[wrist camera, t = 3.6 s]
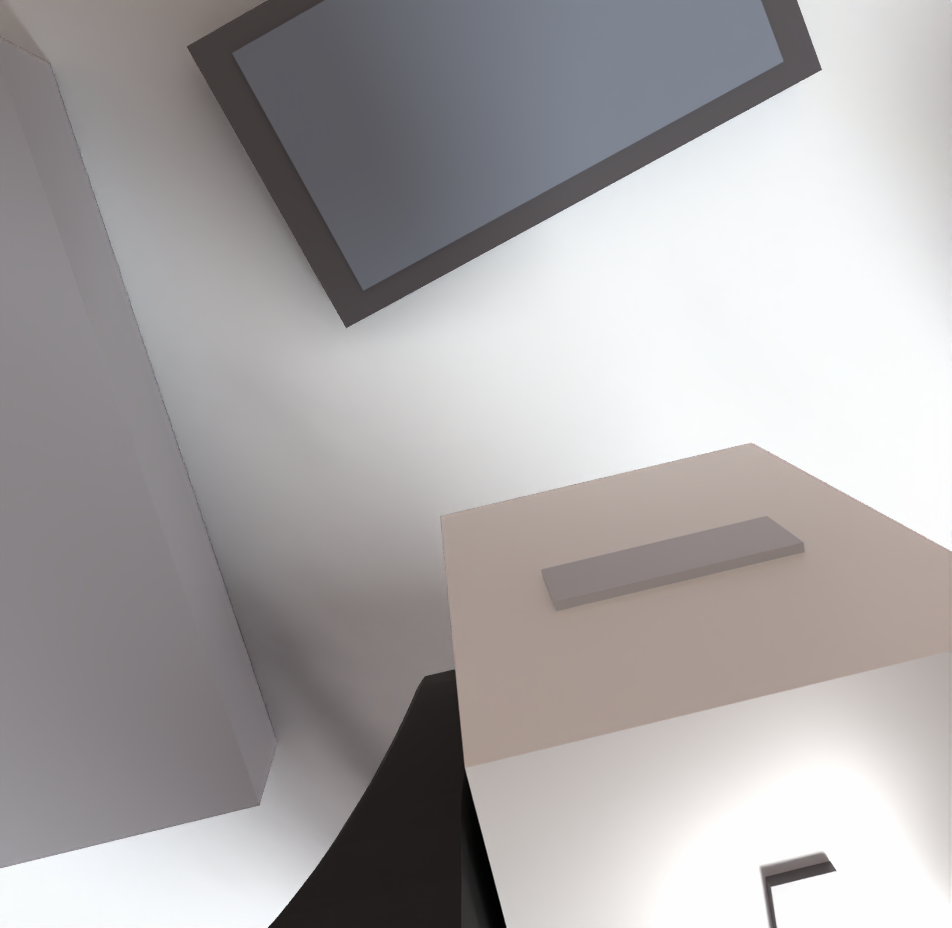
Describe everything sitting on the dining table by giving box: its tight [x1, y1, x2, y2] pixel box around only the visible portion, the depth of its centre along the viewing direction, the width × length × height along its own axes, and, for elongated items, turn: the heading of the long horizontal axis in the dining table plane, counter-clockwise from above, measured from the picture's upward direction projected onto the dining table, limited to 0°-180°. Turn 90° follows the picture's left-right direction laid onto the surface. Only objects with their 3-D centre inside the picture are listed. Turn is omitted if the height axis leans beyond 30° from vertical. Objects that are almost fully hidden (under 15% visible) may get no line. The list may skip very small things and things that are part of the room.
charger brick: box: [440, 443, 952, 928], centre depth 9 cm, size 4×4×6 cm
